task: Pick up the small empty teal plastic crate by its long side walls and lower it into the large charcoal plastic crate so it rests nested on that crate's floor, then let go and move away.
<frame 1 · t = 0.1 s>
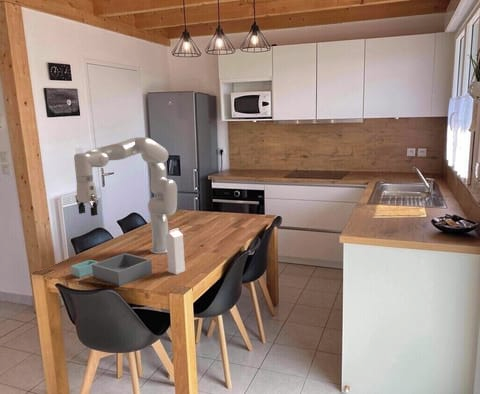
hand: (88, 214, 203), 31 cm above the table, tool pointing down, fingers open, 9 cm apart
milk: (176, 271, 210), on the table
small crate: (85, 273, 212), on the table
large crate: (123, 275, 207), on the table
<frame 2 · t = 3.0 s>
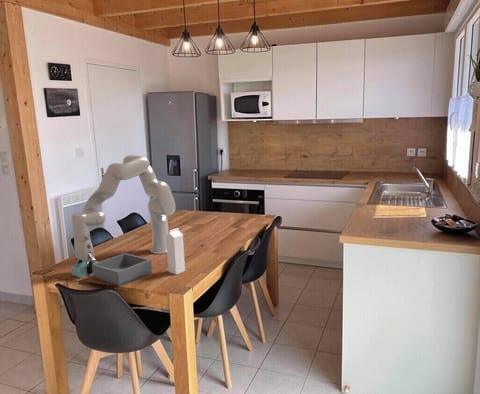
hand: (85, 271, 212), 1 cm above the table, tool pointing down, fingers closed on small crate, 7 cm apart
small crate: (85, 273, 212), on the table, touching gripper
everything else where it was.
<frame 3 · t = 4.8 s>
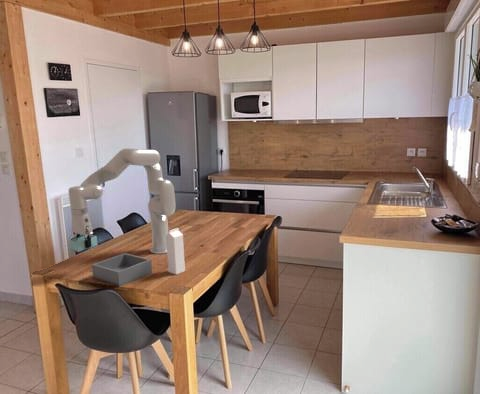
hand: (83, 245, 209), 14 cm above the table, tool pointing down, fingers closed on small crate, 7 cm apart
small crate: (84, 247, 210), point 13 cm above the table, touching gripper
everything else where it was.
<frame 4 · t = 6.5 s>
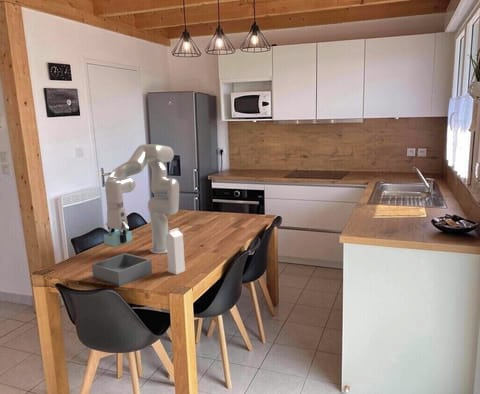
hand: (118, 241, 204), 18 cm above the table, tool pointing down, fingers closed on small crate, 7 cm apart
small crate: (118, 243, 204), point 17 cm above the table, touching gripper
everything else where it was.
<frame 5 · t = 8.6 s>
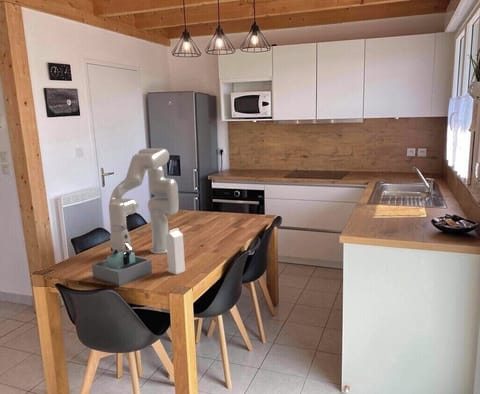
hand: (121, 262, 205), 7 cm above the table, tool pointing down, fingers closed on small crate, 7 cm apart
small crate: (121, 264, 206), point 6 cm above the table, touching gripper
everything else where it was.
when the fingers open (4 cm above the table, at t = 10.2 s): small crate drops 2 cm, resting on large crate.
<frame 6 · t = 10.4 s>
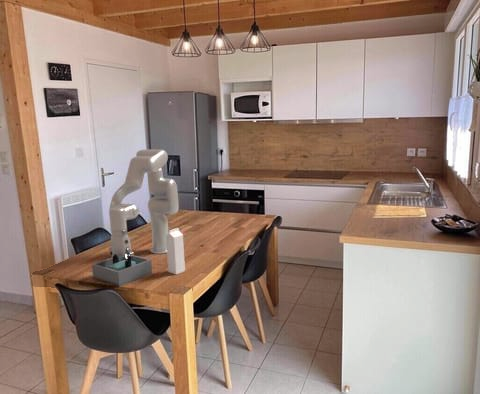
hand: (122, 266, 206), 5 cm above the table, tool pointing down, fingers open, 9 cm apart
small crate: (122, 273, 207), point 1 cm above the table, touching large crate
everything else where it was.
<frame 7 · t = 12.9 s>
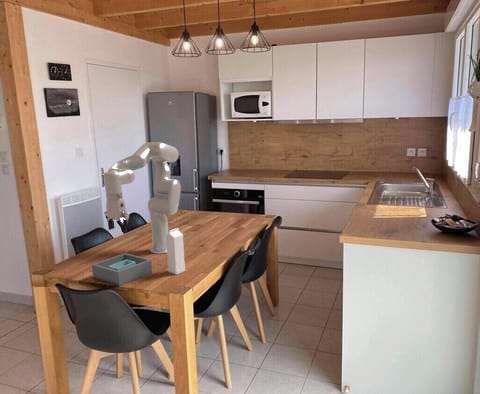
hand: (118, 230, 209), 22 cm above the table, tool pointing down, fingers open, 9 cm apart
nothing on the table moved.
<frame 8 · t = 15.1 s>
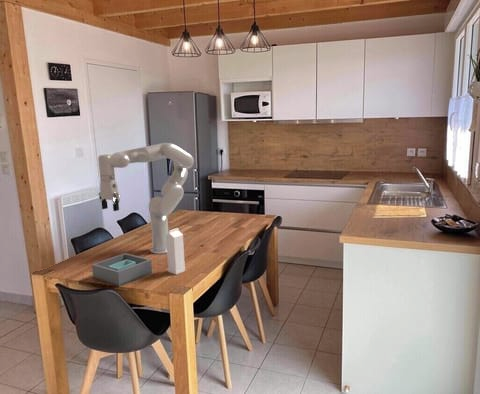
hand: (110, 209, 225), 28 cm above the table, tool pointing down, fingers open, 9 cm apart
nothing on the table moved.
at the end: small crate inside the target area on the large crate (0.0 cm from its centre), point 1.0 cm above the large crate's base; small crate tilted 0°; the gripper is holding nothing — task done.
